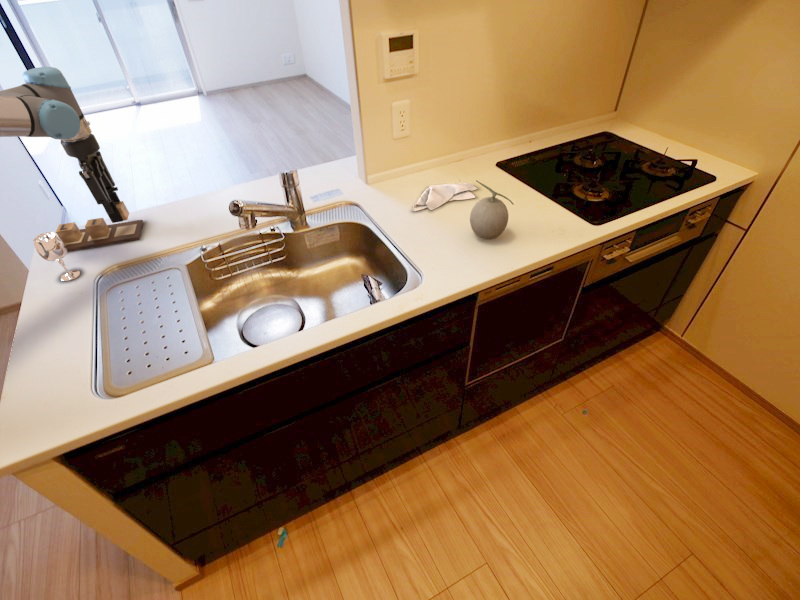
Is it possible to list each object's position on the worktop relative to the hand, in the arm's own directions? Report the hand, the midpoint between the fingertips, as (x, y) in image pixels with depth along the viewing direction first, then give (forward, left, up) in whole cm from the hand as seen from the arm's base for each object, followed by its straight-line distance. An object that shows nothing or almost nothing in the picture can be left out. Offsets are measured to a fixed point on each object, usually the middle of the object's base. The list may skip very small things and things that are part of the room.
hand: (119, 217), depth 123 cm
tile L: (-14, 0, -4) cm, 15 cm away
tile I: (-7, 0, -4) cm, 8 cm away
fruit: (+101, -35, -6) cm, 107 cm away
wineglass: (-11, -17, -6) cm, 22 cm away
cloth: (+97, -9, -6) cm, 98 cm away
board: (-7, 0, -5) cm, 9 cm away
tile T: (0, 0, 0) cm, 0 cm away
